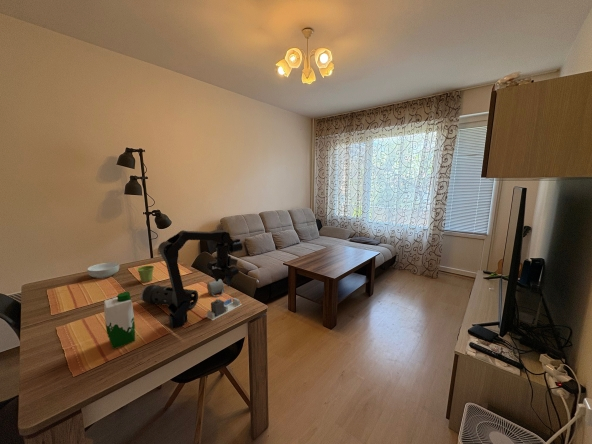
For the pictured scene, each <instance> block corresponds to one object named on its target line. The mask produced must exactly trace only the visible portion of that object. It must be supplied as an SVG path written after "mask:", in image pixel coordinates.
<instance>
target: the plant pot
mask: <svg viewBox="0 0 592 444" xmlns="http://www.w3.org/2000/svg"><path fill="white" fill-rule="evenodd" d="M154 268H155V266H154V265H143V266H141V267H137V269H136V270H137V272H138V274H139V278H140V282H142V283H148V282H151V281H153V277H154V276H153V273H154V272H153V271H154Z"/></svg>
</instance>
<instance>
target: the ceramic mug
mask: <svg viewBox="0 0 592 444" xmlns="http://www.w3.org/2000/svg"><path fill="white" fill-rule="evenodd" d="M206 288H207V293H208V295H212V297H214V298H218V297H221V296H223V293H224V291H225V286H224V282H223V280H222V279H221V278H219V280H218V281H217V282H216V280H213V281H210V282H207V284H206ZM220 293H221V294H220ZM215 294H220V295H215Z"/></svg>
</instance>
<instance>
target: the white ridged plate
mask: <svg viewBox="0 0 592 444" xmlns="http://www.w3.org/2000/svg"><path fill="white" fill-rule="evenodd" d="M242 305H243V304H242V303H241V300H240V299H239V298H237V297H233V298H231V297H230V298H229V299H226V300H225V301H224V313H223V314H221V315H219V316H217V317H216V316H215V314H214V313H213V312H211V309H210V310H209V309H208V310H207V314H206V315H205V318H207V319H210V320H211V321H214V320H216V319H219V318H220V317H222V316H224V315H226V314H227V313H229V312H231V311H233V310H234V309H236V308H238V307H240V306H242Z"/></svg>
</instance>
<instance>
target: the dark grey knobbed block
mask: <svg viewBox="0 0 592 444" xmlns="http://www.w3.org/2000/svg"><path fill="white" fill-rule="evenodd" d="M210 311H211V312H213V313H214V314H215V316H216V317H217V316H219V315H221V314H223V313H224V301H223V300H221V299H220V298H216V299H215V300H214V301H212V302H210Z"/></svg>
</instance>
